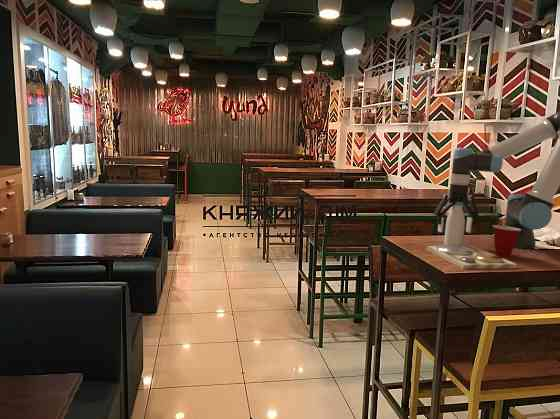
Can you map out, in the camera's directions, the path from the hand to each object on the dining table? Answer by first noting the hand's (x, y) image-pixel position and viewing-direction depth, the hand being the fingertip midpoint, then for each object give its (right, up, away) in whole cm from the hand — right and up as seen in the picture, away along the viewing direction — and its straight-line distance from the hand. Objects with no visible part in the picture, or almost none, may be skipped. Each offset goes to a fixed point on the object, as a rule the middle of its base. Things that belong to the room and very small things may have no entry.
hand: (454, 232), depth 208 cm
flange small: (-6, -10, -29) cm, 31 cm away
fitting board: (-1, -10, -19) cm, 22 cm away
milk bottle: (0, -6, +1) cm, 7 cm away
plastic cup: (+16, -9, -11) cm, 22 cm away
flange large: (-5, -7, -14) cm, 17 cm away
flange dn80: (+4, -9, -26) cm, 28 cm away
